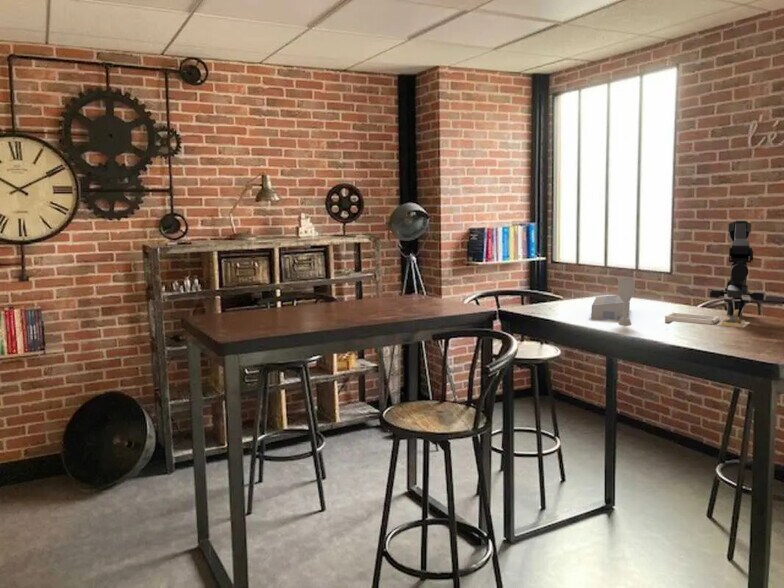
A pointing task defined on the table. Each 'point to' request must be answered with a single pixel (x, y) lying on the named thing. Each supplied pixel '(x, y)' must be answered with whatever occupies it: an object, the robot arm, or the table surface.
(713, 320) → the tray
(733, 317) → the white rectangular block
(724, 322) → the tan notched block
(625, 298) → the chalice
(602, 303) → the warehouse
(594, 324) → the table surface
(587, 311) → the table surface
